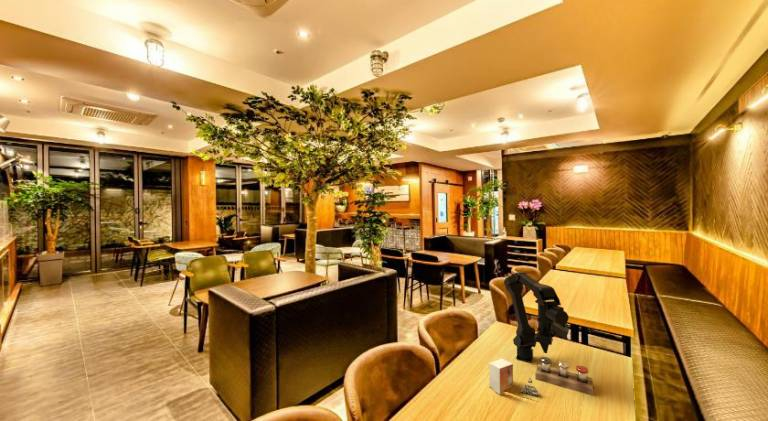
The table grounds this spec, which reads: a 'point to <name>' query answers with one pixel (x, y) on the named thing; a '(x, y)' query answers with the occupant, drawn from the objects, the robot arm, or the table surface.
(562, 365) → the cream plug
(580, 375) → the red plug
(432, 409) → the table surface
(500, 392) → the small box
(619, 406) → the table surface
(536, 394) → the house of cards
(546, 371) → the grey plug
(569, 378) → the socket board
